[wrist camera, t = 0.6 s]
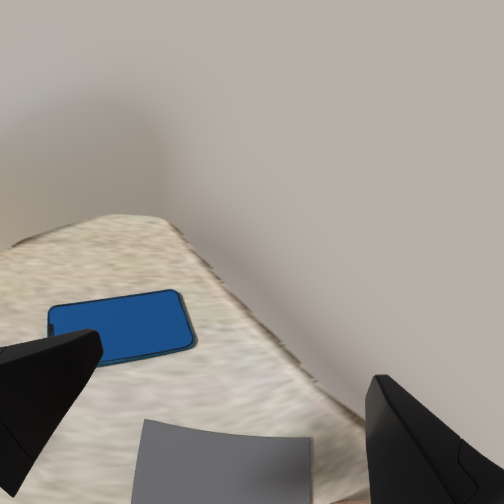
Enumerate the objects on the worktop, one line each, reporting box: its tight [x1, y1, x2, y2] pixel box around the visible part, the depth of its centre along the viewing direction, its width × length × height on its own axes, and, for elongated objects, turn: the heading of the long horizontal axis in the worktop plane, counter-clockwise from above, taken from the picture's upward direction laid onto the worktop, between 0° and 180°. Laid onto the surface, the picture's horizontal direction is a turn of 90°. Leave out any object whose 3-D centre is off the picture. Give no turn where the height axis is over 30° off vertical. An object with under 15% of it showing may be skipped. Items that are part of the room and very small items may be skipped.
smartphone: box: [47, 289, 195, 366], centre depth 23 cm, size 7×1×15 cm
